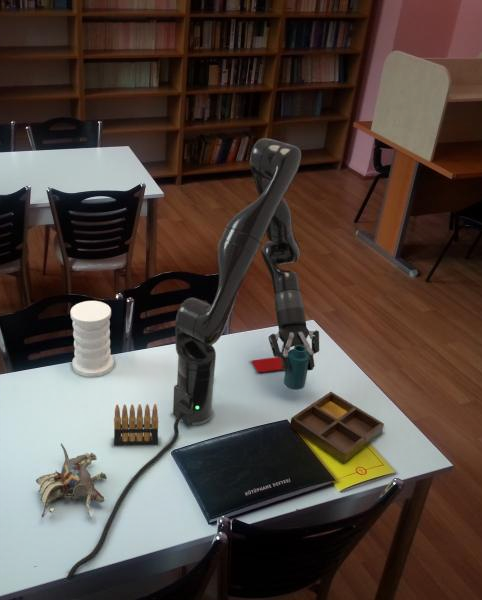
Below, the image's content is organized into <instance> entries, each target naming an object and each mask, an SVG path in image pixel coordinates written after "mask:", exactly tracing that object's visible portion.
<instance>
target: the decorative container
mask: <svg viewBox="0 0 482 600" xmlns="http://www.w3.org/2000/svg"><path fill="white" fill-rule="evenodd" d="M69 311H70V319H71V320H72V323H71V324H72V328H73V332H72V336H73V339H74V340H73V347H74V351H73V354H74V357H73V358H72V370H73V371H74V372H75V373H77V374H78V375H79V376H82V377H87V378H88V377H89V378H95V377H101V376H104V375H106V374H108V373H109V372H110V371H112V370H113V368H114V365H115V364H114V363H115V362H114V357H113V356H112V354H111V337H110V336H111V330H110V325H111V321H110V318H111V316H112V308H111V307H110V306H109V304H107V303H105V302H104V301H103V302H102V301H100V300H99V301H98V300H85V301H82V302H79V303H75V305H73V306H72V307H71V309H70V310H69Z"/></svg>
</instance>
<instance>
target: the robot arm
mask: <svg viewBox="0 0 482 600" xmlns="http://www.w3.org/2000/svg"><path fill="white" fill-rule="evenodd" d="M301 161H302V151H301V149H300V148H299V147H298V146H296V145H293V144H290V143H287V142H284V141H279V140H276V139H272V138H267V137H265V138H263V137H262V138H259V139H258V140H257V141H256V142H255V143H254V145H253V147H252V149H251V151H250V155H249V167H250V171H251V175H252V178H253V181H254V185H255V188H256V191H257V194H258V197H257V198H256V199H255V200H254V201H252V202H251V203H250V204H248V205H247V206H245V207H244V208H243V209H242V210H240V211H238V212H237V213H236V214H235V215H234V216H232V217H231V219H230V220H228V222H227V224H226V226H225V228H224V230H223V231H222V235H221V236H220V239H219V241H218V244H217V247H216V263H217V271H218V272H217V273H218V286H217V289H216V292H215V293H216V294H215V296H214V298H213V301H212V303H209V302H206V301H204V300H202V299H200V298H197V297H189V298H187V299H184V301H183V302H182V303H181V304H180V305H179V307H178V310H177V312H176V317H175V326H174V327H175V328H174V329H175V330H174V331H175V332H174V333H175V335H174V336H175V352H176V354H177V376H176V384H174V386H173V400H172V401H173V403H172V415H173V416H174V417H175V420H174V423H173V431H174V434H173V437H172V439H171V441H170V442H169V443H168V444H167V445H165V446H164V447H163V448H162V449H161V450H160V451H159V452H158V453H157V454H156V455H155V456H153V458H151V459H150V460H149V461H148V462H146V464H144V465H143V466H142V467H141V468H139V470H138V471H137V472H136V473H135V475H134V476H133V477H132V478H131V479H130V480H129V482H128V483H127V484H126V485H125V487H124V489H123V490H122V492H121V494H120V495H119V497H118V498H117V501H116V503H115V504H114V507H113V509H112V511H111V513H110V514H109V517H108V519H107V521H106V523H105V526H104V527H103V530H102V532H101V535H100V537H99V540H98V542H97V544H96V545H95V546H94V548H93V550H91V552H90V553H89V554H87V555H86V556H85V557H83V558H81V559H79V560H78V561H77V562H75V564H73V566H72V567H71V569H69V572H68V573H67V576H66V580H67V581H70V580H72V579H73V576H74V575H75V573H76V571H77V570H78V569H79V568H80V567H82V566H83V565H84V564H86V563H88V562H89V561H91V560H92V559H94V557H95V556H96V555H97V554H98V553H99V551H100V550H101V548H102V546H103V545H104V542H105V540H106V538H107V535H108V533H109V530H110V528H111V526H112V523H113V521H114V520H115V517H116V515H117V513H118V511H119V508H120V506H121V505H122V502H123V500H124V499H125V497H126V496H127V494H128V492H129V491H130V489H131V488H132V486H133V485H134V484H135V482H137V480H138V479H139V478H140V477H141V475H142V474H143V473H144V472H145V471H147V470H148V468H149V467H151V466H152V465H153V464H154V463H156V462H157V461H158V460H159V459H160V458H161V457H162V456H163V455H164V454H165V453H166V452H167V451H169V449H171V448H172V447H173V446H174V444H175V443H176V441H177V440H178V437H179V433H180V431H179V423H180V422H181V423H183V424H184V425H185V426H187V427H192V426H201V425H203V424H205V423H207V422H209V421H210V419H211V418H212V414H213V410H212V409H213V396H214V384H215V383H214V382H215V371H216V359H217V353H216V349H215V347H214V346H213V345H215V343H217V342H218V341H219V339H220V338H221V336H222V335H223V333H224V331H225V329H226V327H227V324H228V321H229V320H230V317H231V313H232V311H233V308H234V305H235V303H236V300H237V297H238V294H239V293H240V289H241V288H242V284H243V283H244V280H245V278H246V276H247V274H248V271H249V269H250V268H251V265H252V263H253V261H254V260H255V258H256V255H257V253H258V251H259V249H260V247H261V245H262V242H263V240H264V238H265V235H266V237H267V239H268V241H266V242H264V243H263V245H262V247H261V250H260V252H261V253H260V254H261V256H262V259H263V262H264V264H265V266H266V268H267V270H268V273H269V275H270V278H271V282H272V288H273V294H274V310H275V314H276V315H275V316H276V320H277V327H278V332H277V333H271V334H270V335H268V342H269V345H270V348H271V352H272V355H273V356H274V357H273V358H276V357H279V358H281V361H282V368H283V370H282V371H284V373H285V372H286V373H287V372H290V365H289V358H287V356H288V352H289V351H290V350H291V348H292V347H293V348H294V347H295V346H296V345H301V346H304V347H305V348H306V351H307V352H308V353H309V354H310V360H309V365H308V371H313V370H314V368H315V360H314V355H315V354H317V353H319V352H320V331H319V330H317V329H316V330H309V329H308V327H307V320H306V319H307V318H306V314H305V308H304V307H305V306H304V301H303V297H302V294H301V289H300V281H299V276H298V273H296V272H295V271H293V270H286V269H285V270H284V269H281V268H279V267H278V266H283V265H290V264H295V263H297V262H298V261H299V259H300V258H301V248H300V246H299V242H298V241H297V238H296V237H295V235H294V231H293V219H292V217H293V216H292V211H291V209H290V205H289V204H288V202H287V201H286V199H285V195H286V194H287V192H288V190H289V189H290V187H291V186H292V183H293V181H294V179H295V177H296V176H297V173H298V172H299V168H300V166H301ZM308 337H309V339H310V340H311V345H310V343H309V341H308V340H307V339H308ZM279 340H281V342H282V347H281V350H280V346H279V343H278V341H279ZM308 371H307V372H308Z"/></svg>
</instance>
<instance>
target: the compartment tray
mask: <svg viewBox="0 0 482 600" xmlns="http://www.w3.org/2000/svg"><path fill="white" fill-rule="evenodd" d="M384 425H385V423H384V422H382V421H381V420H379V419H378V418H375V417H374V416H372V414H369V413H368V412H366V411H364V410H363V409H361V408H359V407H358V406H356V405H354V404H353V403H351V402H350V401H348V400H346V399H344V398H343V397H342V396H339V395H338V394H336V393H334V392H333V391H329V392H328V393H325V394H324V395H323V396H322V397H320V398H319V399H317V400H316V401H314V402H313V403H311V404H309V405H308V406H306V407H305V408H303V409H302V410H301V411H299V412H297V413H296V414H295V415H293V416H291V418H290V423H289V428H290V429H292V430H294V431H295V432H296V433H298V434H299V435H301V436H302V437H304V438H305V439H307V440H308V441H310V442H311V443H312V444H314V445H315V446H317V447H318V448H320V449H321V450H323V451H324V452H325V453H327V454H329V455H330V456H332V457H333V458H334V459H336V460H337V461H339V462H340V463H342V464H345V463H346V462H347V461H349V460H350V459H351V458H353V456H355V455H356V454H357V453H359V452H360V451H361V450H362V449H363V448H365V447H366V446H367V445H369V444H370V443H371V442H372V441H373V440H375V439H376V438H377V437H379V436H380V435H382V433H383V429H384V427H385V426H384Z"/></svg>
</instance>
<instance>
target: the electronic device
mask: <svg viewBox="0 0 482 600" xmlns="http://www.w3.org/2000/svg"><path fill="white" fill-rule="evenodd" d="M287 357H288V355H287ZM251 363H252V364H253V366H254V368H255V370H256V371H257V373H258V374H262V373H269V372H277V371H284V370H283V368H282V361H281V358H279V357H269V358H268V357H267V358H260V359H253V360H252V361H251Z"/></svg>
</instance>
